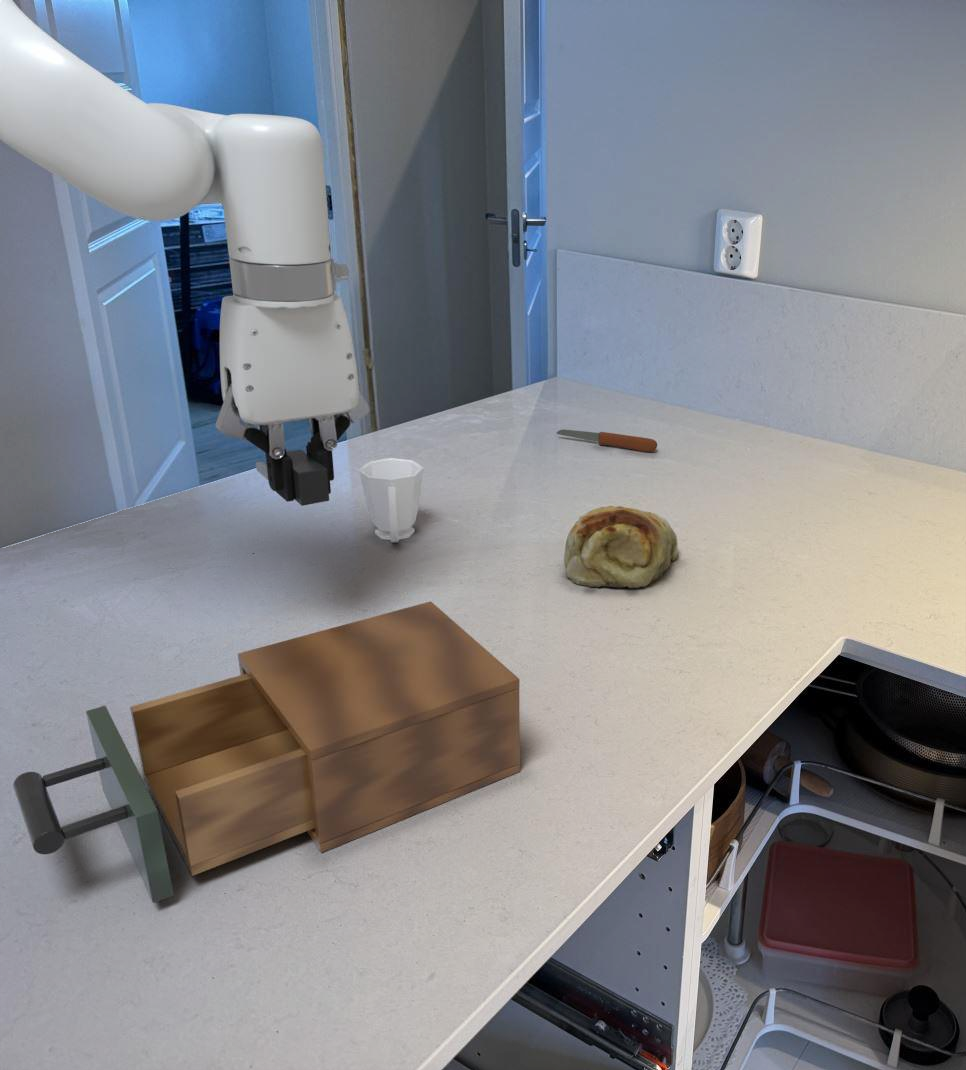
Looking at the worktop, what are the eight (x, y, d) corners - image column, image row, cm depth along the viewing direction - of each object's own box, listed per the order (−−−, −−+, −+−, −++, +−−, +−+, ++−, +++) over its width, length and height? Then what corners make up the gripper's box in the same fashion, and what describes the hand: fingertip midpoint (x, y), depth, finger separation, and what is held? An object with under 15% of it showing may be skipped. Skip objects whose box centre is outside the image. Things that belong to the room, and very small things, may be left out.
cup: (425, 519, 120) (422, 456, 116) (428, 554, 111) (425, 488, 108) (363, 522, 118) (359, 458, 114) (362, 558, 109) (357, 490, 106)
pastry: (581, 600, 104) (583, 531, 101) (546, 551, 114) (547, 487, 111) (702, 583, 110) (707, 517, 107) (659, 538, 120) (663, 476, 117)
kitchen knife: (657, 451, 149) (658, 438, 148) (655, 454, 148) (655, 441, 147) (557, 437, 151) (557, 424, 150) (554, 440, 150) (554, 427, 149)
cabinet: (321, 853, 68) (309, 750, 65) (250, 747, 78) (237, 653, 74) (520, 771, 78) (519, 678, 74) (434, 686, 87) (431, 600, 84)
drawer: (59, 941, 59) (36, 851, 56) (19, 817, 68) (-2, 735, 65) (377, 814, 71) (371, 735, 68) (307, 723, 80) (299, 650, 77)
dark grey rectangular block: (333, 500, 86) (330, 467, 85) (298, 506, 84) (295, 474, 83) (289, 465, 93) (286, 434, 92) (256, 470, 91) (252, 439, 90)
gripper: (360, 268, 87) (372, 464, 95) (159, 277, 77) (191, 496, 85) (398, 284, 82) (408, 489, 90) (190, 296, 72) (220, 526, 80)
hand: (302, 491), depth 87 cm, fingers closed on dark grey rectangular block, 2 cm apart
